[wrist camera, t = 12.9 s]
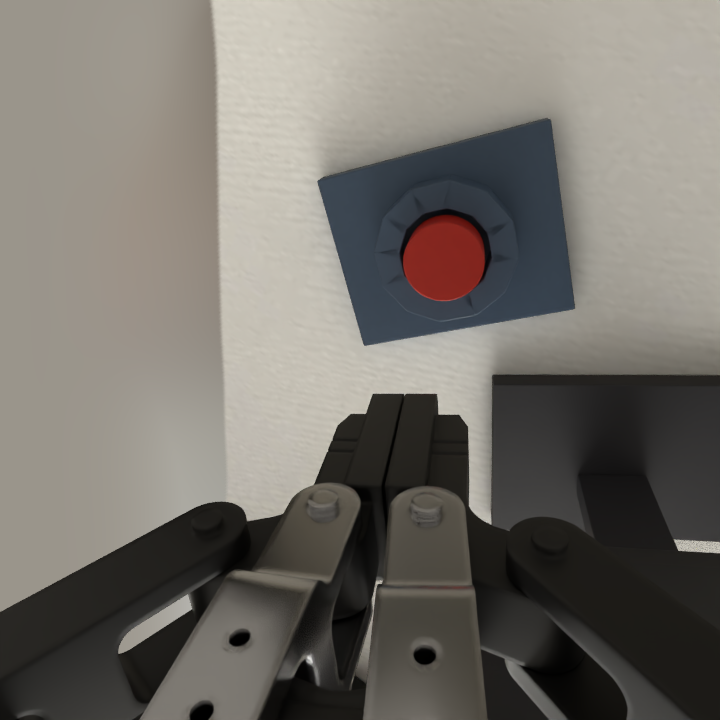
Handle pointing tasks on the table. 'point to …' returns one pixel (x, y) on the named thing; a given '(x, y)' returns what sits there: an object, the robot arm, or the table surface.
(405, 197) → the switch box
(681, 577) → the monitor screen
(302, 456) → the table surface
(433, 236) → the power button
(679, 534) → the monitor stand
